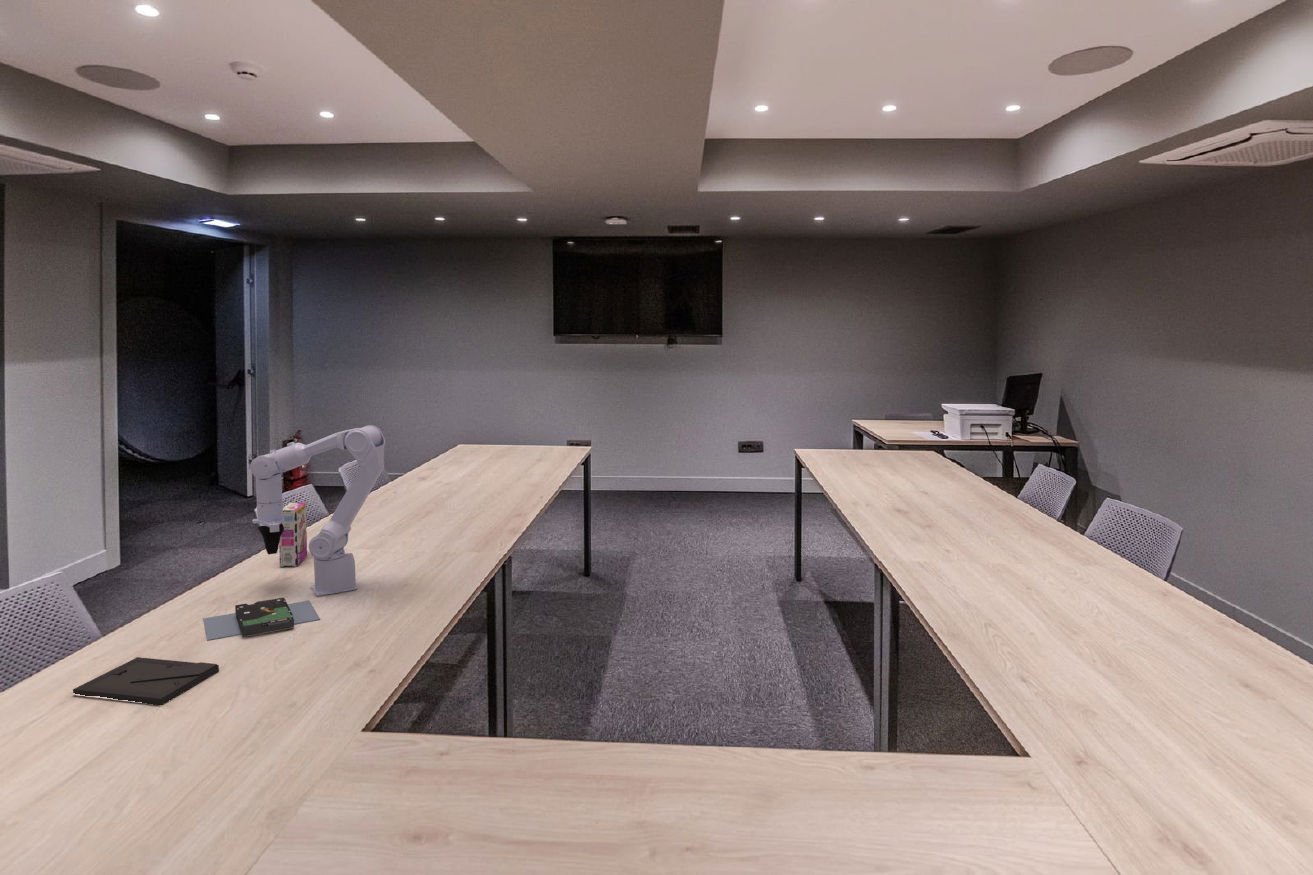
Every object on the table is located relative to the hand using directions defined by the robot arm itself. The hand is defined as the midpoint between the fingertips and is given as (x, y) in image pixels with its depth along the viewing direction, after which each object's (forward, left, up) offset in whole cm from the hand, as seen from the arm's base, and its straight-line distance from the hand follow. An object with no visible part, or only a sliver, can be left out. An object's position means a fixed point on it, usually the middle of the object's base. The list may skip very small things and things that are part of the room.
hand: (272, 553), depth 180 cm
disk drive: (+5, +23, -9) cm, 26 cm away
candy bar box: (-8, -22, -10) cm, 25 cm away
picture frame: (+26, +44, -10) cm, 52 cm away
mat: (+5, +21, -9) cm, 24 cm away
